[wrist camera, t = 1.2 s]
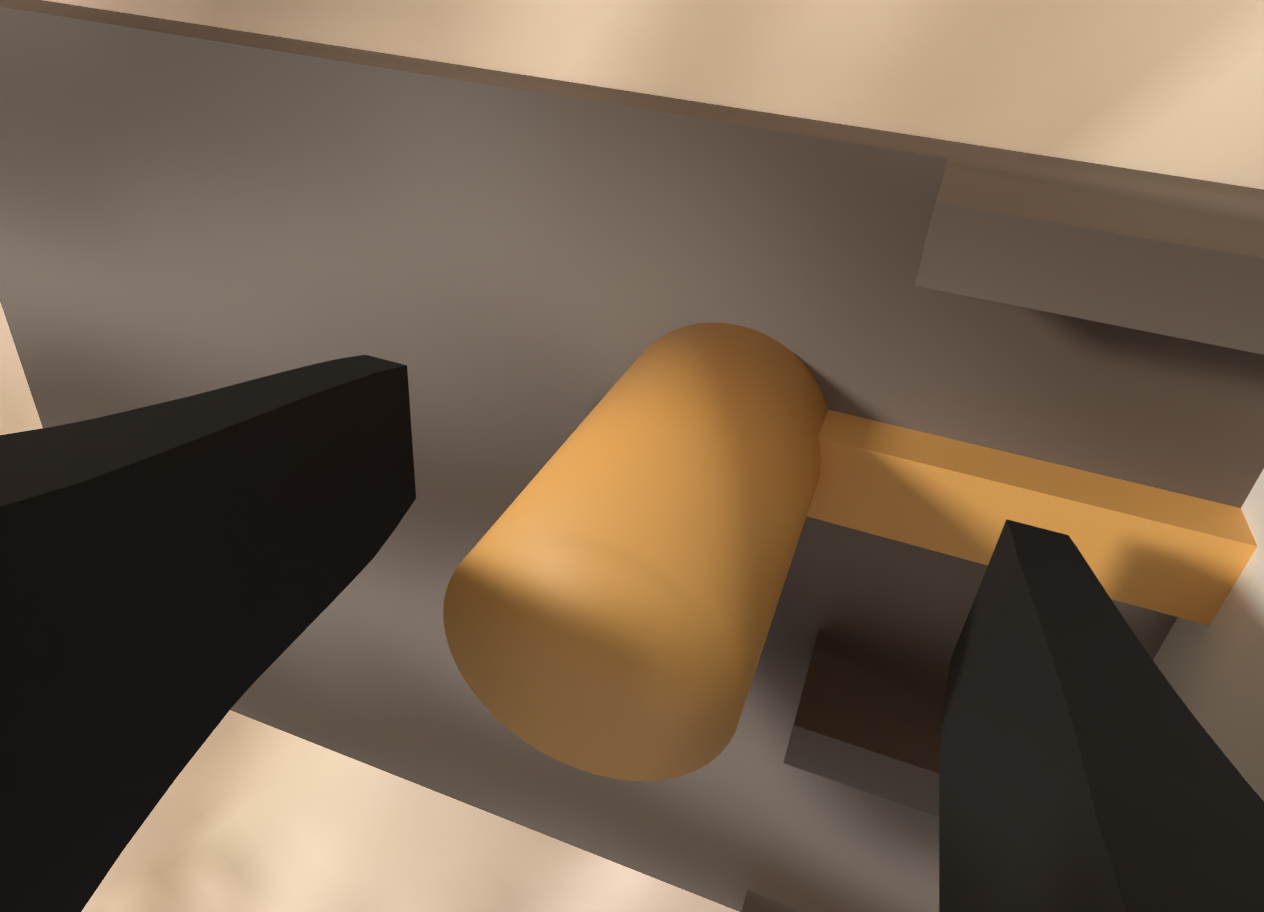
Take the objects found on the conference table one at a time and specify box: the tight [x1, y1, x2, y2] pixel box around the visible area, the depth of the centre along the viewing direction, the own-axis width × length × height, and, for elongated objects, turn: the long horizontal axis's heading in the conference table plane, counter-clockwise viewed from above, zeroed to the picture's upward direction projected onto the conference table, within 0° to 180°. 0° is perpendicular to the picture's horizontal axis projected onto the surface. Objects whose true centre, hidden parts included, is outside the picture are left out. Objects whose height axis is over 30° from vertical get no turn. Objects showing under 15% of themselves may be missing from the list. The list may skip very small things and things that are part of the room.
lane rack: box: [0, 0, 1264, 912], centre depth 14 cm, size 15×26×3 cm, turn 85°
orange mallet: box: [443, 322, 1264, 801], centre depth 9 cm, size 5×13×5 cm, turn 85°
